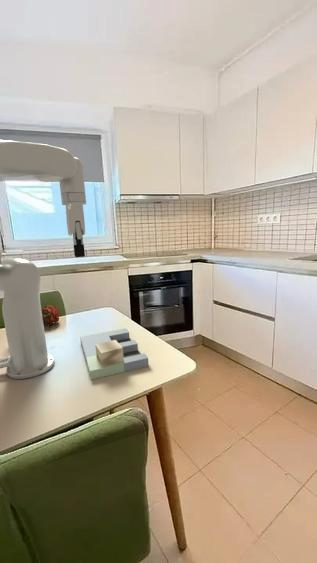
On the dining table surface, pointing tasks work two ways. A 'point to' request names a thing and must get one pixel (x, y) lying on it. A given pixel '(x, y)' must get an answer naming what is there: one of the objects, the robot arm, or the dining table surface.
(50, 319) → the dragon fruit
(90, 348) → the board
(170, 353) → the dining table surface
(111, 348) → the block
